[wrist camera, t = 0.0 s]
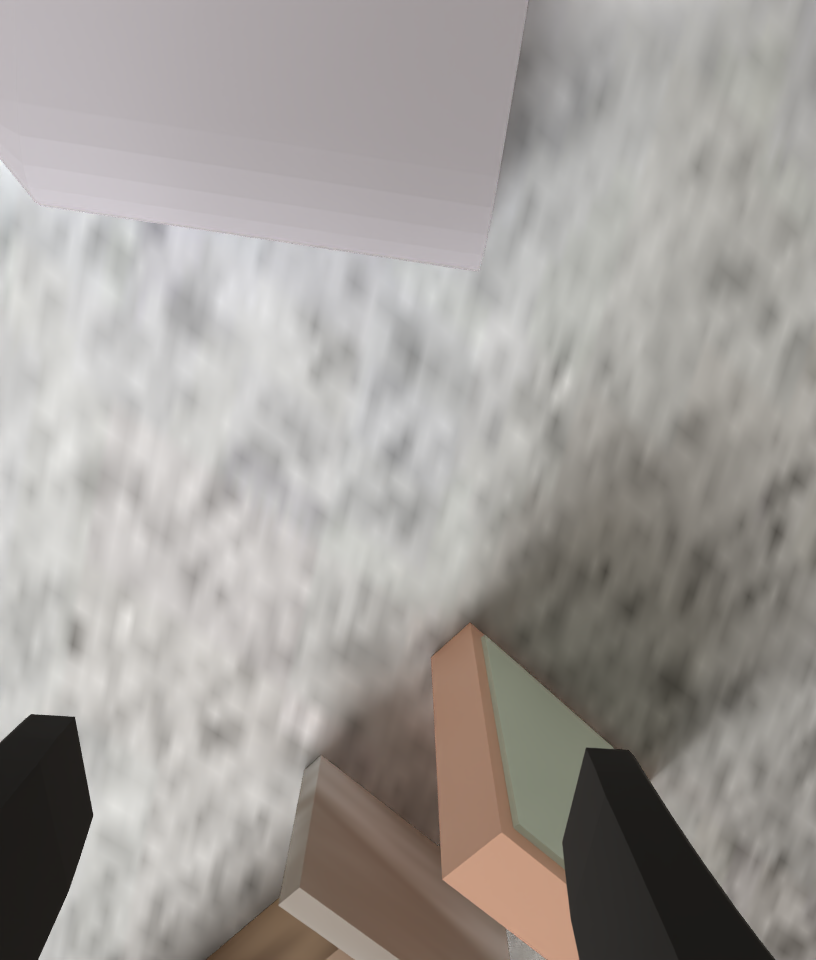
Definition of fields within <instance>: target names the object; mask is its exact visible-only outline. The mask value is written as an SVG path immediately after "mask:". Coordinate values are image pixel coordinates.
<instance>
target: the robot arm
mask: <svg viewBox="0 0 816 960" xmlns="http://www.w3.org/2000/svg"><path fill="white" fill-rule="evenodd" d="M92 818H93V811H92V806H91V801H90V795H89V790H88V785H87V779H86V774H85V769H84V763H83V758H82V753H81V747H80V742H79V737H78V731H77V726H76V721H75V717H68V716H51V715H34V714H31V715H30V716H28V717H27V718H26V719H25V720H24V721H23V722H21V723H20V724H19V725H18V726H17V727H16V728H15V729H14V730H13V731H12V732H11V733H10V734H9V735H8V736H6V737H5V738H4V739H3V740H2V741H1V742H0V960H38V958H39V956H40V954H41V952H42V950H43V947H44V945H45V943H46V941H47V939H48V936H49V934H50V932H51V930H52V927H53V925H54V923H55V921H56V918H57V916H58V914H59V912H60V910H61V907H62V905H63V903H64V900H65V898H66V896H67V894H68V891H69V889H70V886H71V883H72V880H73V877H74V874H75V871H76V868H77V865H78V862H79V859H80V856H81V853H82V850H83V847H84V843H85V840H86V837H87V834H88V831H89V827H90V824H91V821H92ZM562 846H563V856H564V865H565V875H566V884H567V893H568V901H569V909H570V918H571V923H572V927H573V932H574V937H575V942H576V946H577V951H578V956H579V960H775V959H774V957H773V956H772V955H771V954H770V952H769V951H768V950H767V948H766V947H765V946H764V945H763V943H762V942H761V941H760V940H759V938H758V937H757V936H756V934H755V933H754V932H753V930H752V929H751V928H750V926H749V925H748V924H747V922H746V921H745V920H744V918H743V917H742V916H741V914H740V913H739V912H738V910H737V909H736V908H735V906H734V905H733V903H732V902H731V901H730V899H729V898H728V896H727V895H726V894H725V892H724V891H723V889H722V888H721V886H720V885H719V884H718V882H717V881H716V879H715V878H714V877H713V875H712V874H711V872H710V871H709V870H708V868H707V867H706V865H705V864H704V863H703V861H702V860H701V858H700V857H699V855H698V854H697V852H696V851H695V850H694V848H693V847H692V845H691V844H690V842H689V841H688V839H687V838H686V836H685V835H684V833H683V832H682V830H681V829H680V827H679V826H678V824H677V823H676V821H675V820H674V818H673V817H672V815H671V814H670V812H669V810H668V809H667V807H666V806H665V804H664V803H663V801H662V800H661V798H660V796H659V795H658V793H657V792H656V790H655V789H654V787H653V785H652V784H651V782H650V781H649V779H648V777H647V776H646V774H645V773H644V771H643V770H642V768H641V766H640V765H639V763H638V761H637V760H636V758H635V757H634V755H633V754H632V753H631V752H630V751H629V750H620V749H604V748H587V747H586V749H585V753H584V757H583V761H582V765H581V769H580V773H579V777H578V781H577V785H576V789H575V793H574V797H573V801H572V805H571V809H570V813H569V817H568V821H567V825H566V829H565V833H564V837H563V841H562Z"/></svg>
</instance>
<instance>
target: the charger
mask: <svg viewBox="0 0 816 960" xmlns="http://www.w3.org/2000/svg"><path fill="white" fill-rule="evenodd" d="M528 2H529V0H0V159H1V160H2V162H3V163H4V164H5V165H6V167H7V168H8V169H9V170H10V172H11V173H12V174H13V175H14V177H15V178H16V179H17V180H18V182H19V183H20V184H21V185H22V186H23V188H24V189H25V190H26V191H27V193H28V194H29V195H30V196H31V198H32V199H33V200H34V201H35V202H36V203H38V204H39V205H40V206H45V207H52V208H59V209H65V210H72V211H79V212H85V213H92V214H99V215H105V216H112V217H119V218H125V219H132V220H139V221H145V222H152V223H159V224H165V225H172V226H179V227H185V228H192V229H199V230H205V231H212V232H219V233H225V234H232V235H239V236H245V237H252V238H259V239H265V240H272V241H279V242H285V243H292V244H299V245H305V246H312V247H319V248H325V249H332V250H339V251H345V252H352V253H359V254H365V255H372V256H379V257H385V258H392V259H399V260H405V261H412V262H419V263H425V264H432V265H439V266H445V267H452V268H459V269H465V270H472V271H479V269H480V267H481V263H482V260H483V256H484V251H485V247H486V242H487V238H488V233H489V227H490V222H491V217H492V212H493V207H494V201H495V195H496V190H497V184H498V179H499V173H500V167H501V161H502V155H503V149H504V143H505V137H506V131H507V126H508V120H509V114H510V108H511V102H512V96H513V90H514V84H515V78H516V73H517V67H518V61H519V55H520V49H521V43H522V37H523V31H524V25H525V20H526V14H527V8H528Z"/></svg>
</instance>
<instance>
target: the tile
mask: <svg viewBox="0 0 816 960" xmlns="http://www.w3.org/2000/svg"><path fill="white" fill-rule="evenodd" d="M431 667H432V687H433V707H434V727H435V747H436V767H437V787H438V807H439V827H440V847H441V867H442V880H443V881H445V882H446V883H447V884H449V885H450V886H451V887H453V888H454V889H455V890H457V891H458V892H459V893H460V894H462V895H463V896H464V897H466V898H467V899H468V900H470V901H471V902H472V903H474V904H475V905H476V906H477V907H479V908H480V909H481V910H483V911H484V912H485V913H487V914H488V915H489V916H491V917H492V918H493V919H494V920H496V921H497V922H498V923H500V924H501V925H502V926H504V927H505V928H506V929H508V930H509V931H510V932H511V933H513V934H514V935H515V936H517V937H518V938H519V939H521V940H522V941H523V942H525V943H526V944H527V945H528V946H530V947H531V948H532V949H534V950H535V951H536V952H538V953H539V954H540V955H542V956H543V957H544V958H545V959H547V960H579V956H578V951H577V946H576V942H575V937H574V932H573V927H572V923H571V918H570V909H569V901H568V893H567V884H566V875H565V865H564V856H563V846H562V841H563V837H564V833H565V829H566V825H567V821H568V817H569V813H570V809H571V805H572V801H573V797H574V793H575V789H576V785H577V781H578V777H579V773H580V769H581V765H582V761H583V757H584V753H585V749H586V747H587V748H604V749H614V748H613V747H612V746H611V745H610V744H609V743H607V742H606V741H605V740H604V739H603V738H602V737H601V736H599V735H598V734H597V733H596V732H595V731H594V730H593V729H592V728H590V727H589V726H588V725H587V724H586V723H585V722H584V721H582V720H581V719H580V718H579V717H578V716H577V715H576V714H574V713H573V712H572V711H571V710H570V709H569V708H568V707H567V706H565V705H564V704H563V703H562V702H561V701H560V700H559V699H557V698H556V697H555V696H554V695H553V694H552V693H551V692H550V691H548V690H547V689H546V688H545V687H544V686H543V685H542V684H540V683H539V682H538V681H537V680H536V679H535V678H534V677H532V676H531V675H530V674H529V673H528V672H527V671H526V670H525V669H523V668H522V667H521V666H520V665H519V664H518V663H517V662H515V661H514V660H513V659H512V658H511V657H510V656H509V655H507V654H506V653H505V652H504V651H503V650H502V649H501V648H500V647H498V646H497V645H496V644H495V643H494V642H493V641H492V640H490V639H489V638H488V637H487V636H486V635H484V634H483V633H482V632H480V631H479V630H478V629H477V628H476V627H475V626H474V625H472V624H471V623H469V624H468V625H467V626H465V627H464V628H463V629H462V630H461V631H460V632H459V633H458V634H457V635H455V636H454V637H453V638H452V639H451V640H450V641H449V642H448V643H446V644H445V645H444V646H443V647H442V648H441V649H440V650H439V651H437V652H436V653H435V654H434V655H433V656H432V657H431ZM649 781H650V780H649Z"/></svg>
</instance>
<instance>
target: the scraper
mask: <svg viewBox="0 0 816 960" xmlns="http://www.w3.org/2000/svg"><path fill="white" fill-rule="evenodd" d="M206 960H510V955H509V948H508V940H507V933H506V928H505V927H504V926H502V925H501V924H500V923H498V922H497V921H496V920H494V919H493V918H492V917H491V916H489V915H488V914H487V913H485V912H484V911H483V910H481V909H480V908H479V907H477V906H476V905H475V904H474V903H472V902H471V901H470V900H468V899H467V898H466V897H464V896H463V895H462V894H460V893H459V892H458V891H457V890H455V889H454V888H453V887H451V886H450V885H449V884H447V883H446V882H445V881H443V880H442V867H441V848H440V847H439V846H437V845H436V844H435V843H434V842H432V841H431V840H430V839H428V838H427V837H426V836H425V835H423V834H422V833H421V832H419V831H418V830H417V829H416V828H414V827H413V826H412V825H410V824H409V823H408V822H407V821H405V820H404V819H403V818H401V817H400V816H399V815H398V814H396V813H395V812H394V811H392V810H391V809H390V808H389V807H387V806H386V805H385V804H383V803H382V802H381V801H380V800H378V799H377V798H376V797H374V796H373V795H372V794H371V793H369V792H368V791H367V790H365V789H364V788H363V787H362V786H360V785H359V784H358V783H356V782H355V781H354V780H353V779H351V778H350V777H349V776H347V775H346V774H345V773H344V772H342V771H341V770H340V769H338V768H337V767H336V766H335V765H333V764H332V763H331V762H330V761H328V760H327V759H326V758H324V757H323V756H322V755H321V756H320V757H319V758H317V759H316V760H315V761H314V762H313V763H312V764H311V765H310V766H309V767H307V768H306V769H305V770H304V773H303V778H302V784H301V789H300V794H299V799H298V804H297V810H296V815H295V820H294V825H293V831H292V836H291V841H290V846H289V851H288V857H287V862H286V867H285V872H284V877H283V883H282V888H281V893H280V897H279V898H278V899H277V900H276V901H275V902H274V903H272V904H271V905H270V906H269V907H268V908H266V909H265V910H264V911H263V912H262V913H260V914H259V915H258V916H257V917H256V918H255V919H253V920H252V921H251V922H250V923H249V924H247V925H246V926H245V927H244V928H243V929H242V930H240V931H239V932H238V933H237V934H236V935H234V936H233V937H232V938H231V939H230V940H228V941H227V942H226V943H225V944H224V945H223V946H221V947H220V948H219V949H218V950H217V951H215V952H214V953H213V954H212V955H211V956H209V957H208V958H207V959H206Z"/></svg>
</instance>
